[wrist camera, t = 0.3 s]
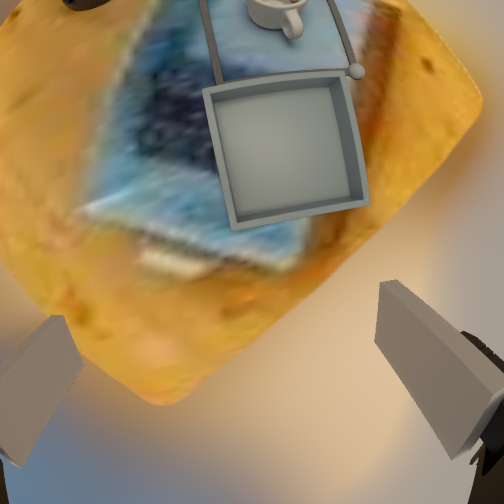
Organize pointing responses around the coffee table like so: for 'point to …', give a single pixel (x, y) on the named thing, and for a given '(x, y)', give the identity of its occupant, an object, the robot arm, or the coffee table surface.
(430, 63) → the coffee table surface
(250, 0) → the cup
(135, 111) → the coffee table surface
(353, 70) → the square tray frame
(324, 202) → the bin
